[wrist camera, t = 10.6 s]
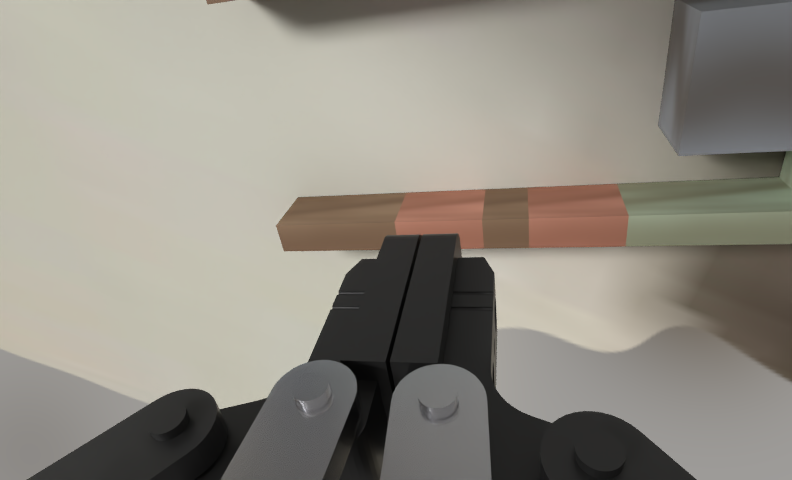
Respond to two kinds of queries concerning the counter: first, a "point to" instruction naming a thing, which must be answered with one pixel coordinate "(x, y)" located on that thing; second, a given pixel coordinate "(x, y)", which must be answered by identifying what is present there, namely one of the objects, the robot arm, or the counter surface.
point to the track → (553, 215)
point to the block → (728, 77)
